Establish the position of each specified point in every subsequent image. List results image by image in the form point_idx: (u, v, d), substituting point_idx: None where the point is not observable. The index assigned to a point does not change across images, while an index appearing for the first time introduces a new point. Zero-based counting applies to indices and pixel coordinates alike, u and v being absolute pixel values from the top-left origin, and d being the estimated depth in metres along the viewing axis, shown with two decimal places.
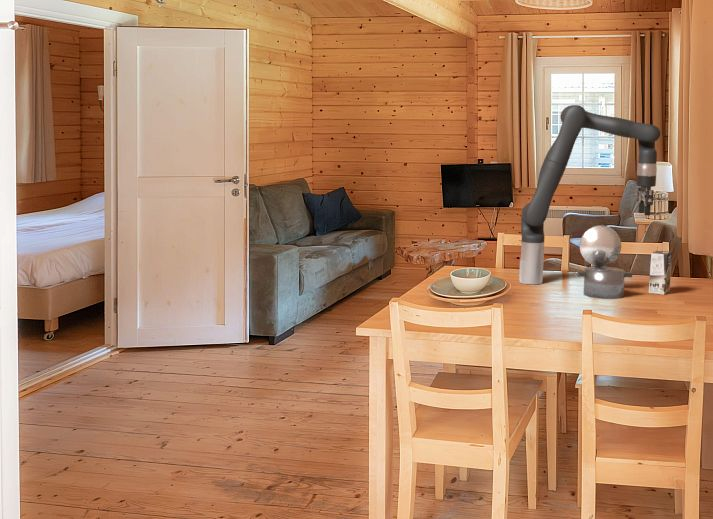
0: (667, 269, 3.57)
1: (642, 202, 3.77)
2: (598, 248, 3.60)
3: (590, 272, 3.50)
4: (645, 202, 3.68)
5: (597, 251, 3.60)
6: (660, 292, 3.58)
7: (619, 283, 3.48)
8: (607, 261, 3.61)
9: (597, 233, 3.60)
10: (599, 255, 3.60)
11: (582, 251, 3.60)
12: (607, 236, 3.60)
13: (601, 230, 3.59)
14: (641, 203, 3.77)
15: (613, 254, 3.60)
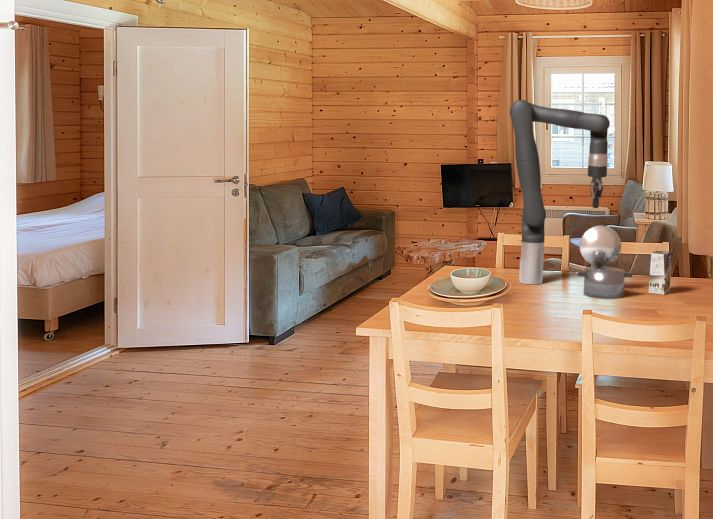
0: (667, 269, 3.57)
1: None
2: (598, 248, 3.60)
3: (590, 272, 3.50)
4: (593, 196, 3.68)
5: (597, 251, 3.60)
6: (660, 292, 3.58)
7: (619, 283, 3.48)
8: (607, 261, 3.61)
9: (597, 233, 3.60)
10: (599, 255, 3.60)
11: (582, 251, 3.60)
12: (607, 236, 3.60)
13: (601, 230, 3.59)
14: None
15: (613, 254, 3.60)
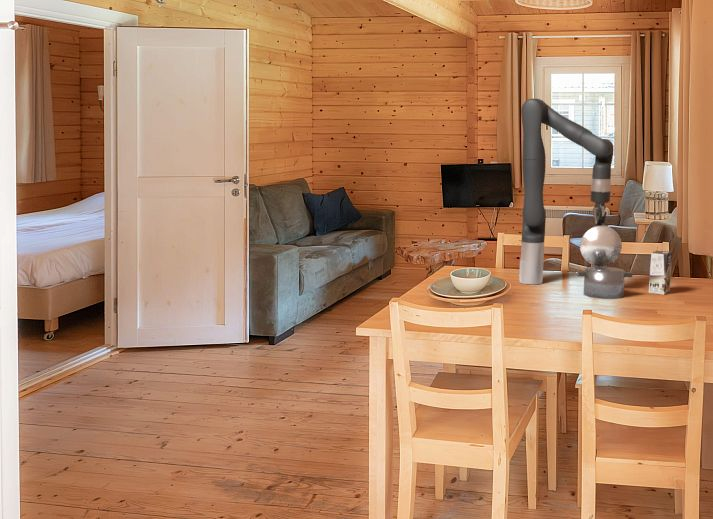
0: (667, 269, 3.57)
1: None
2: (598, 249, 3.60)
3: (590, 272, 3.50)
4: (597, 221, 3.62)
5: (597, 251, 3.60)
6: (660, 292, 3.58)
7: (619, 283, 3.48)
8: (607, 261, 3.60)
9: (598, 233, 3.59)
10: (599, 255, 3.60)
11: (582, 251, 3.60)
12: (608, 236, 3.59)
13: (602, 230, 3.58)
14: None
15: (613, 254, 3.60)
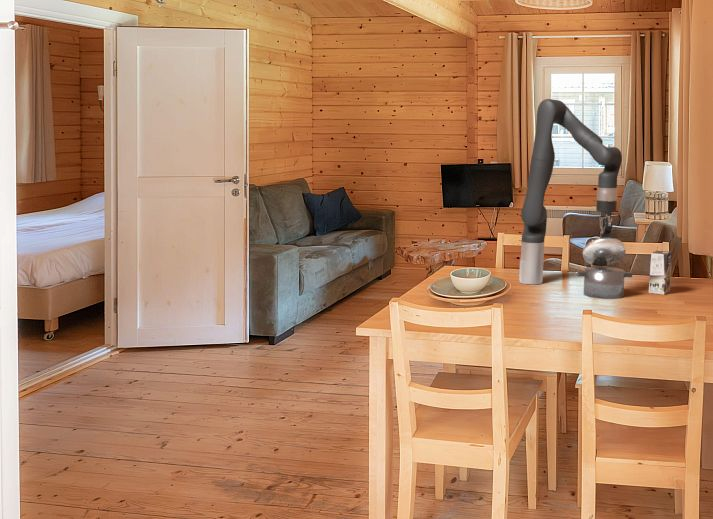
0: (667, 269, 3.57)
1: None
2: (600, 255, 3.55)
3: (590, 272, 3.50)
4: (603, 231, 3.52)
5: (599, 257, 3.56)
6: (660, 292, 3.58)
7: (619, 283, 3.48)
8: (608, 263, 3.59)
9: (602, 245, 3.51)
10: (600, 259, 3.58)
11: (584, 257, 3.56)
12: (612, 247, 3.51)
13: (607, 243, 3.50)
14: None
15: (615, 259, 3.57)
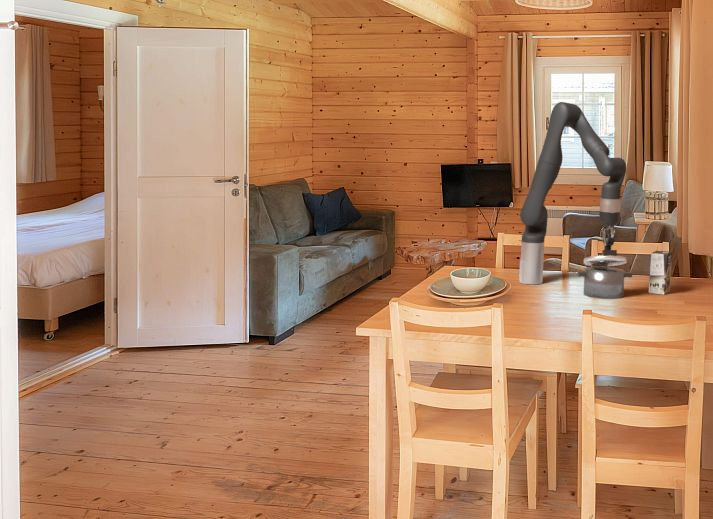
0: (667, 269, 3.57)
1: None
2: (601, 263, 3.54)
3: (590, 272, 3.50)
4: (605, 243, 3.48)
5: (600, 263, 3.55)
6: (660, 292, 3.58)
7: (619, 283, 3.48)
8: (608, 265, 3.59)
9: (604, 260, 3.48)
10: (601, 264, 3.57)
11: (585, 263, 3.55)
12: (613, 261, 3.49)
13: (609, 260, 3.47)
14: None
15: (615, 264, 3.56)
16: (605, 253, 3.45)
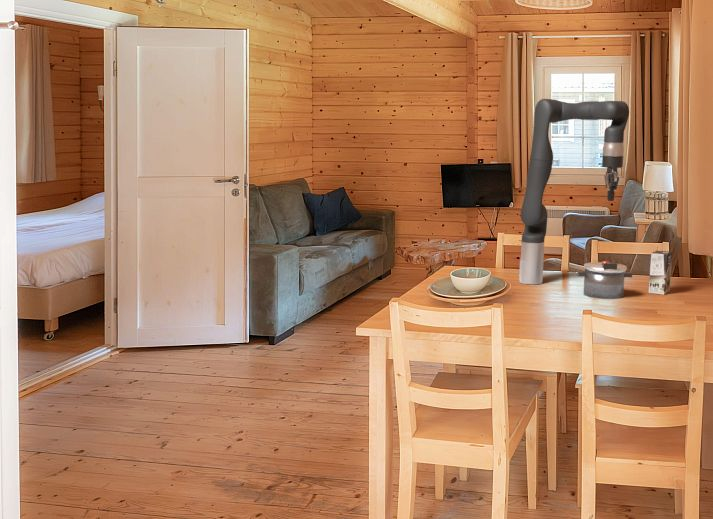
0: (667, 269, 3.57)
1: None
2: None
3: (590, 272, 3.50)
4: (609, 188, 3.44)
5: None
6: (660, 292, 3.58)
7: (619, 283, 3.48)
8: None
9: None
10: None
11: None
12: None
13: None
14: None
15: None
16: (605, 267, 3.45)
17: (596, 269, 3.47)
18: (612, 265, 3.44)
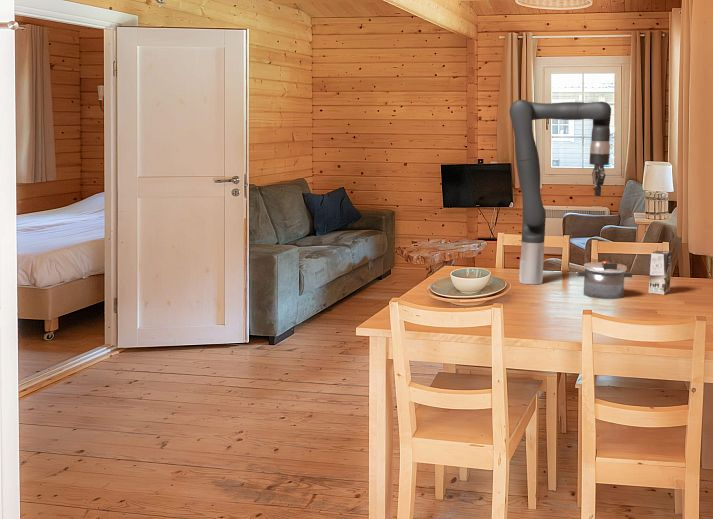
0: (667, 269, 3.57)
1: None
2: None
3: (590, 272, 3.50)
4: (596, 184, 3.65)
5: None
6: (660, 292, 3.58)
7: (619, 283, 3.48)
8: None
9: None
10: None
11: None
12: None
13: None
14: None
15: None
16: (605, 267, 3.45)
17: (596, 269, 3.47)
18: (612, 265, 3.44)
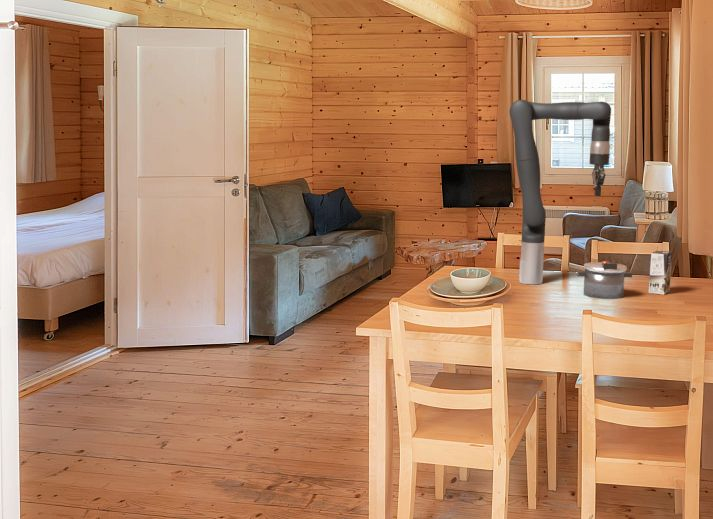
0: (667, 269, 3.57)
1: None
2: None
3: (590, 272, 3.50)
4: (596, 184, 3.65)
5: None
6: (660, 292, 3.58)
7: (619, 283, 3.48)
8: None
9: None
10: None
11: None
12: None
13: None
14: None
15: None
16: (605, 267, 3.45)
17: (596, 269, 3.47)
18: (612, 265, 3.44)
